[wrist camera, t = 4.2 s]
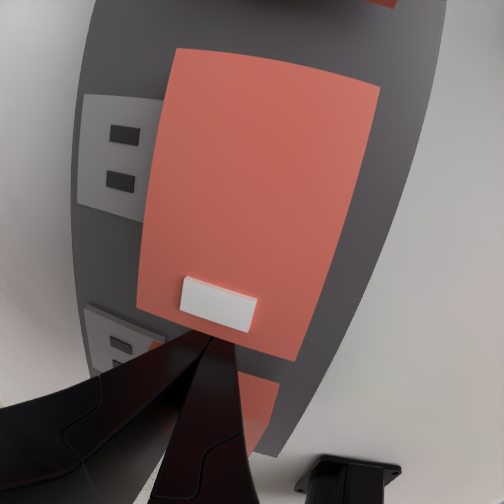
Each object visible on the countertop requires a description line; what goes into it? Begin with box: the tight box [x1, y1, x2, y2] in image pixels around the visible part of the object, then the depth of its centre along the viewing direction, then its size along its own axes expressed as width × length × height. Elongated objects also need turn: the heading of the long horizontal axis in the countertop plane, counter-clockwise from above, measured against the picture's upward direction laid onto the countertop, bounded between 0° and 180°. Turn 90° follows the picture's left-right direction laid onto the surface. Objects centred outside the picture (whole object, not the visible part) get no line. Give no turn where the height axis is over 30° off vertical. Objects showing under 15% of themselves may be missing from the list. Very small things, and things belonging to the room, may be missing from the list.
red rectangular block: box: [147, 341, 280, 458], centre depth 10 cm, size 6×4×2 cm, turn 169°
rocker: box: [136, 48, 380, 362], centre depth 7 cm, size 6×4×2 cm, turn 168°
